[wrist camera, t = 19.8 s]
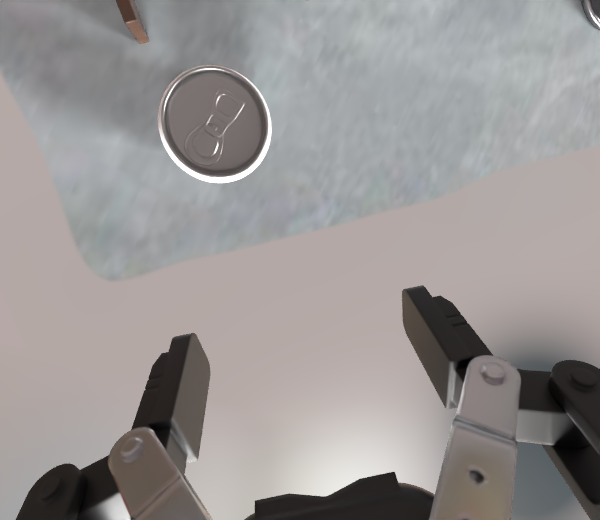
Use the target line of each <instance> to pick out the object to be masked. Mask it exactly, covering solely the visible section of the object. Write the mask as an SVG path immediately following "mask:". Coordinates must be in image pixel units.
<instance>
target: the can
mask: <svg viewBox="0 0 600 520" xmlns="http://www.w3.org/2000/svg"><path fill="white" fill-rule="evenodd" d="M158 126H159V132H160V136H161V139H162V142H163V144H164V147H165V149H166V150H167V152H168V154H169V155H170V157H171V158H172V159H173V160H174V162H175V163H176V164H177V165H178V166H179V167H180V168H181V169H183V170H184V171H185V172H187V173H188V174H190V175H192V176H194V177H196V178H198V179H200V180H203V181H207V182H213V183H227V182H232V181H235V180H238V179H241V178H243V177H245V176H246V175H248V174H249V173H251V172H252V171H253V170H254V169H255V168H256V167H257V166H258V165H259V164H260V163H261V161H262V160H263V158H264V156H265V154H266V152H267V150H268V147H269V144H270V139H271V119H270V114H269V110H268V107H267V105H266V102H265V100H264V98H263V97H262V95H261V93H260V92H259V91H258V89H257V88H256V87H255V86H254V85H253V84H252V83H251V82H250V81H249V80H248V79H247V78H246V77H244V76H243V75H241V74H240V73H238V72H236V71H234V70H232V69H230V68H227V67H223V66H218V65H202V66H197V67H193V68H191V69H188V70H186V71H184V72H183V73H181V74H180V75H178V76H177V77H176V78H175V79H174V80H173V81H172V82H171V83H170V84H169V86H168V87H167V89H166V90H165V92H164V94H163V96H162V99H161V102H160V105H159V111H158Z"/></svg>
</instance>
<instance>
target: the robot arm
mask: <svg viewBox="0 0 600 520" xmlns="http://www.w3.org/2000/svg"><path fill="white" fill-rule="evenodd" d="M582 5H583V8H584V11H585V14H586V16H587V18H588V19H589V21H590V22H591V24H592V25H593V26H594V27H596V28H597V29H598V30H600V0H582ZM402 306H403V324H404V328H405V331H406V334H407V336H408V338H409V340H410V342H411V344H412V346H413V347H414V349H415V351H416V353H417V355H418V357H419V359H420V361H421V363H422V365H423V366H424V368H425V370H426V372H427V374H428V376H429V378H430V380H431V382H432V383H433V385H434V387H435V389H436V391H437V393H438V395H439V396H440V398H441V400H442V402H443V404H444V406H445V408H446V409H451V408H456V407H457V413H456V417H455V419H454V420H453V423H452V427H451V431H450V435H449V439H448V443H447V447H446V451H445V455H444V460H443V464H442V468H441V472H440V476H439V480H438V484H437V489H436V493H435V495H434V494H433V493H431V492H429V491H427V490H425V489H423V488H420V487H417V486H414V485H410V484H406V483H398V481H397V478H396V475H395V472H391V473H386V474H381V475H376V476H372V477H367V478H362V479H359V480H357V481H355V482H353V483H352V484H350V485H348V486H346V487H344V488H342V489H340V490H339V491H337V492H335V493H333V494H331V495H329V496H326V497H320V496H310V495H299V494H285V495H281V496H276V497H271V498H267V499H261V500H257V501H255V513H254V514H252V515H250V516H249V517H247V518H246V519H245V520H511V513H512V502H513V490H514V480H515V469H516V457H517V441H521V442H529V443H538V444H542V446H543V448H544V449H545V451H546V452H547V454H548V455H549V457H550V458H551V460H552V461H553V463H554V464H555V466H556V467H557V469H558V471H559V472H560V474H561V475H562V477H563V478H564V480H565V481H566V483H567V484H568V486H569V487H570V489H571V490H572V492H573V493H574V495H575V496H576V498H577V500H578V501H579V503H580V504H581V506H582V507H583V509H584V510H585V512H586V513H587V515H588V516H589V518H590V519H591V520H600V369H598V368H597V367H595V366H593V365H590V364H588V363H585V362H581V361H576V360H566V361H561V362H559V363H557V364H555V366H554V367H553V369H552V372H543V371H528V370H520V369H516V368H515V367H514V366H513V365H512V364H511V363H509V362H508V361H506V360H504V359H502V358H499V357H495V356H493V354H492V353H491V352H490V351H489V349H488V348H487V347H486V345H485V344H484V343H483V342H482V340H481V339H480V338H479V336H478V335H477V334H476V333H475V331H474V330H473V329H472V328H471V326H470V325H469V324H467V321H466V320H465V319H464V317H463V316H462V315H461V314H460V312H459V311H458V310H457V308H456V307H455V306H454V304H453V303H451V302H450V301H448V300H447V299H445V298H443V297H442V296H437V297H432V296H431V295H430V293H429V292H428V291H427V289H426V288H425V287H424V286H417V287H413V288H408V289H404V290H403V291H402ZM209 380H210V365H209V362H208V359H207V357H206V354H205V352H204V350H203V348H202V346H201V344H200V342H199V340H198V338H197V336H196V334H195V333H191V334H186V335H181V336H176V337H174V338H173V339H172V342H171V345H170V349H169V352H167V353H162V354H161V355H160V357H159V358H158V359H157V361H156V362H155V363H154V365H153V366H152V369H151V373H150V375H149V380H148V381H147V384H146V387H145V389H146V390H145V391H144V393H143V396H142V399H141V402H140V406H139V408H138V411H137V414H136V418H135V420H134V423H133V426H132V429H131V431H129V432H127V433H126V434H124V435H123V436H122V437H121V438H120V439H119V440H118V441H117V442H116V443H115V445H114V446H113V448H112V449H111V451H110V454H109V455H108V456H106V457H105V458H103V459H101V460H99V461H97V462H95V463H93V464H91V465H89V466H87V467H85V468H83V469H81V470H79V469H78V468H77V467H76V466H75V465H73V464H62V465H59V466H57V467H55V468H53V469H51V470H50V471H48V472H47V473H46V474H44V475H43V476H42V477H41V478H40V479H39V480H38V481H37V482H36V483H35V484H34V486H33V487H32V488H31V490H30V491H29V493H28V495H27V497H26V499H25V501H24V503H23V505H22V507H21V510H20V512H19V514H18V516H17V518H16V520H213V519H212V518H211V516H210V514H209V513H208V511H207V510H206V508H205V507H204V505H203V503H202V502H201V500H200V499H199V497H198V495H197V494H196V492H195V491H194V489H193V488H192V486H191V484H190V483H189V481H188V480H187V478H186V476H185V475H184V473H185V468H186V463H188V462H192V461H197V460H198V456H199V449H200V442H201V436H202V428H203V422H204V415H205V408H206V401H207V394H208V387H209Z"/></svg>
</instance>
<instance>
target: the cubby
mask: <svg viewBox="0 0 600 520" xmlns="http://www.w3.org/2000/svg"><path fill="white" fill-rule="evenodd" d="M116 2H117V4H118V7H119V9H120V12H121V14H122V17H123V20H124V22H125V24H126V25H127V26H128V28H129V29H130V31H131V32H132V34H133V35H134V36H135V38H136V39H137V41H138V42H139V43H140V44H141V43H145V42H149V38H148V36H147V33H146V31H145V28H144V25H143V23H142V20H141V18H140V15H139V12H138V10H137V7H136V4H135V2H134V0H116Z"/></svg>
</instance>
